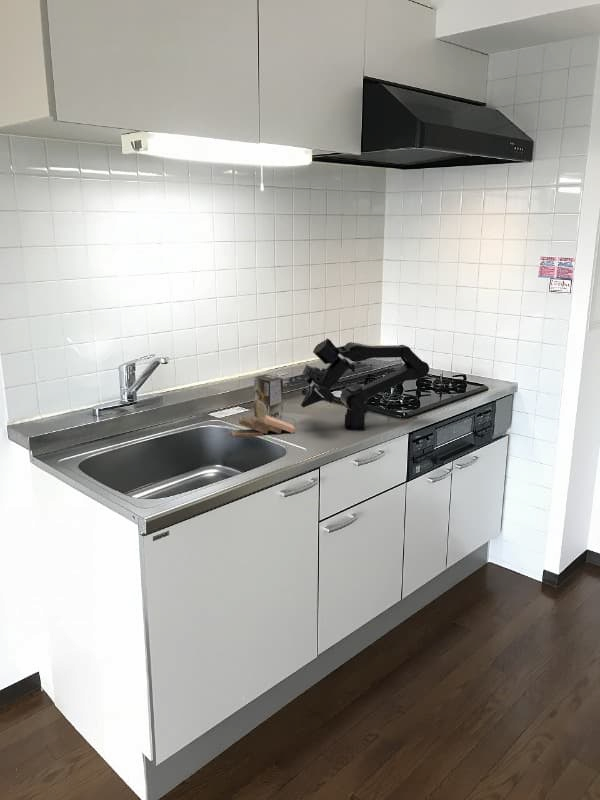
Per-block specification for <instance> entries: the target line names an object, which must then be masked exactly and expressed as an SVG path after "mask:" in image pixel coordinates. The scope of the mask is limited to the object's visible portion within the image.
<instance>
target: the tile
mask: <svg viewBox="0 0 600 800" xmlns="http://www.w3.org/2000/svg"><path fill="white" fill-rule="evenodd" d="M264 420H265V423H266V424H269V425H272V426H275V427H277V428H280V429H282V431H283V430H284V431H286V432H288V433H291V434H294V431H295V429H296V428H295V427H294V424H291V423H288V422H286V421H281V420H278V419H275V418H273V417H270V416H267V415H266V416H265V418H264Z"/></svg>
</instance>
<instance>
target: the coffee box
mask: <svg viewBox="0 0 600 800" xmlns="http://www.w3.org/2000/svg"><path fill="white" fill-rule="evenodd" d="M283 380H284V378H282V377H277V376H273V375H271V374H262V375H257V376H253V399H254V400H253V401H254V402H253V406H254V407H253V409H254V410H253V411H254V414H253V416H255V417H258V418H261V419H263V420H264V418H265V416H266V415H267V416H270V417H273V418H275V419H278V420H281V421H283V419H284V418H283V417H284V415H283V413H284V412H283V411H284V407H283V406H284V405H283V404H284V401H283V400H284V398H283V396H284V392H283V391H284V383H283V382H284V381H283ZM283 422H284V421H283Z"/></svg>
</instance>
